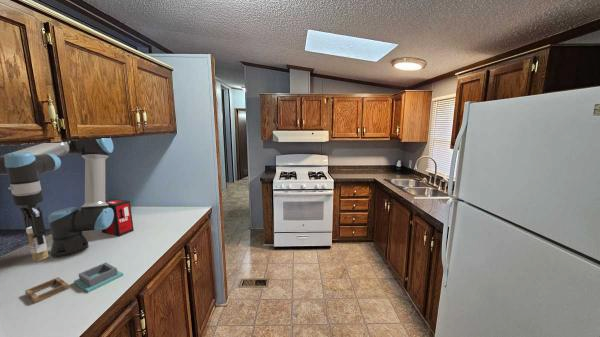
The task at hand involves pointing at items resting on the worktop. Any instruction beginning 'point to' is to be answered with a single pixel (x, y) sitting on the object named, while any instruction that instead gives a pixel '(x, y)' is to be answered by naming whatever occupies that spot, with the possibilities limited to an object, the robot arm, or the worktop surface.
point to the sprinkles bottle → (35, 255)
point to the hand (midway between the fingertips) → (39, 249)
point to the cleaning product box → (120, 218)
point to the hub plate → (97, 277)
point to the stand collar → (36, 299)
